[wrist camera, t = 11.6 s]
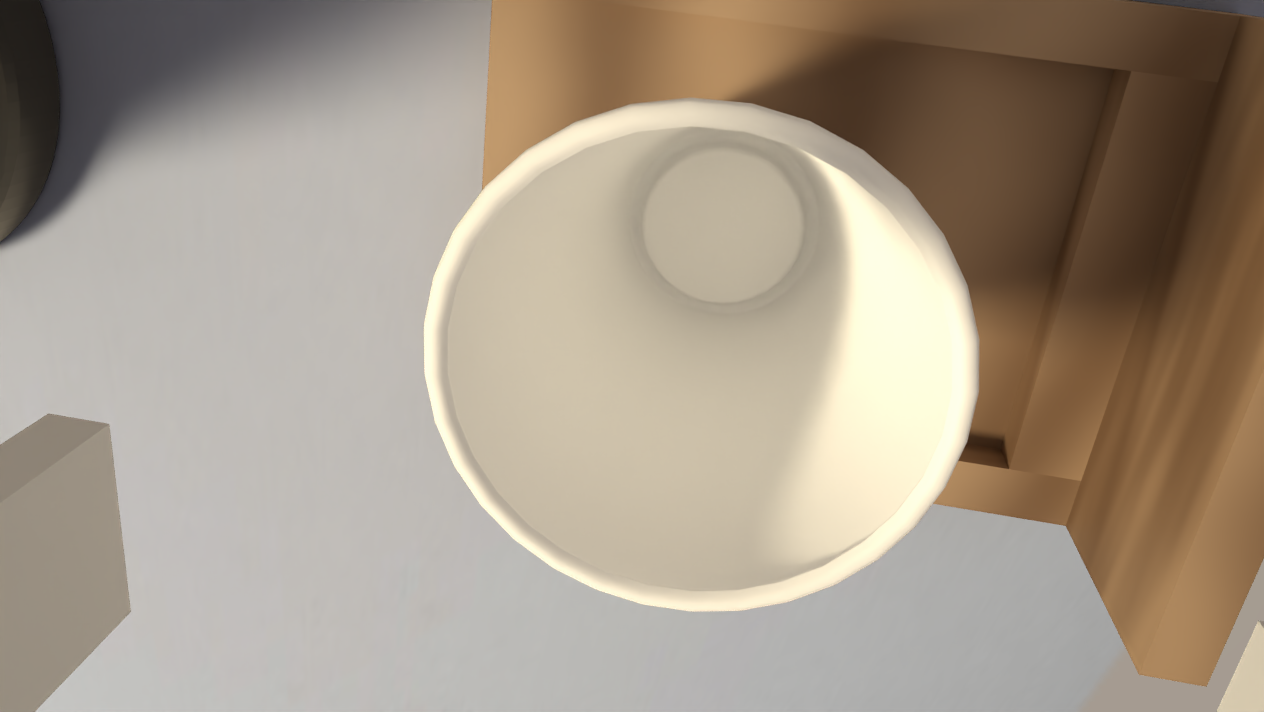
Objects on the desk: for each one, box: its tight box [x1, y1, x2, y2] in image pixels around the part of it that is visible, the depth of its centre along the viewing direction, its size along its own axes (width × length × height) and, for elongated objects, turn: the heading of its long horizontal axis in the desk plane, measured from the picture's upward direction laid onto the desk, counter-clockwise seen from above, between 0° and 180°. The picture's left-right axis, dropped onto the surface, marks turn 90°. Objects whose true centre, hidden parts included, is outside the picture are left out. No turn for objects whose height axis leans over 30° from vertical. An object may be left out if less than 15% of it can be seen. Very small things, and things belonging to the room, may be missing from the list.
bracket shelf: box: [482, 0, 1264, 686], centre depth 25 cm, size 20×14×10 cm
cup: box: [424, 98, 979, 611], centre depth 22 cm, size 10×10×11 cm
